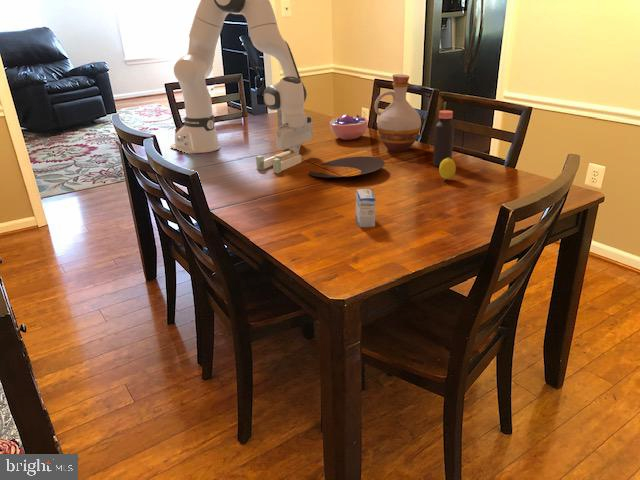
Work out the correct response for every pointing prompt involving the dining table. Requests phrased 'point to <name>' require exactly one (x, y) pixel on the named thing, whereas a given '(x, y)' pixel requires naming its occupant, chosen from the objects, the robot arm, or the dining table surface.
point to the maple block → (285, 155)
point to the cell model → (349, 126)
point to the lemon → (447, 168)
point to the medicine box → (365, 208)
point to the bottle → (443, 137)
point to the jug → (398, 118)
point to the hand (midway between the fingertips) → (295, 155)
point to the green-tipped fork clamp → (277, 163)
